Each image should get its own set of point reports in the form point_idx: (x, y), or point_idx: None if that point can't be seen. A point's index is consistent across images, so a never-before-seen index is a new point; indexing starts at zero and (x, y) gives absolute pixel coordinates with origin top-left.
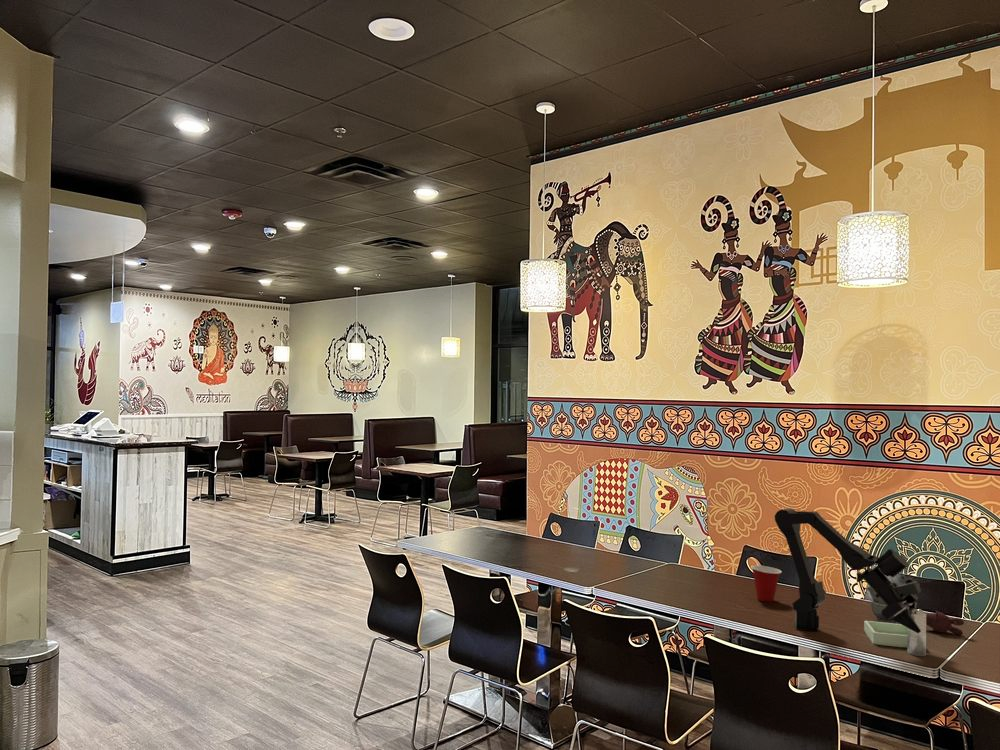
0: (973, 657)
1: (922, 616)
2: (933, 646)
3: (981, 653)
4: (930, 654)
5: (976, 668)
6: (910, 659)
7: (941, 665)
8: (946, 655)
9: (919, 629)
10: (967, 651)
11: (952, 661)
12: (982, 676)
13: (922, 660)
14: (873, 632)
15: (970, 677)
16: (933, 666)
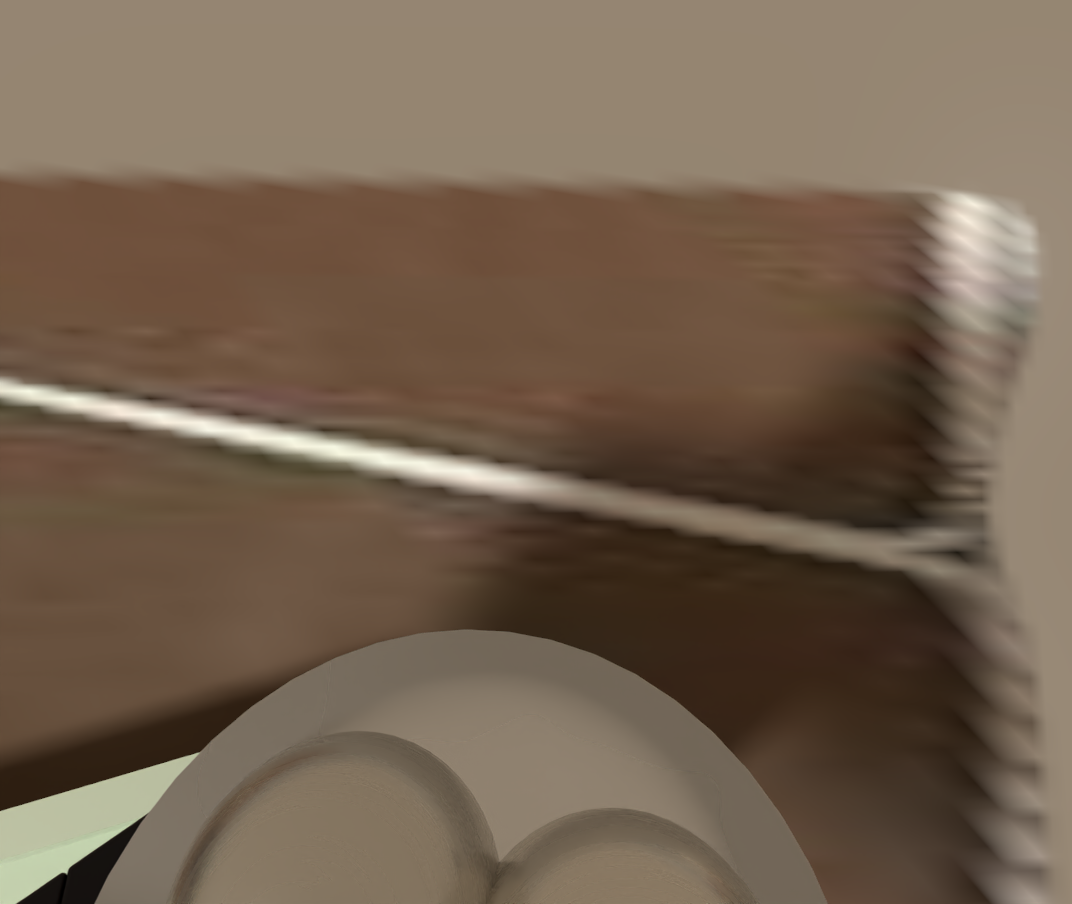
0: (307, 288)
1: (733, 764)
2: (75, 624)
3: (134, 235)
4: None
5: (653, 272)
6: (841, 874)
7: (801, 532)
8: (381, 493)
9: None
10: (121, 328)
11: (571, 441)
12: (859, 239)
13: (767, 726)
14: None
15: (976, 312)
16: (909, 605)
